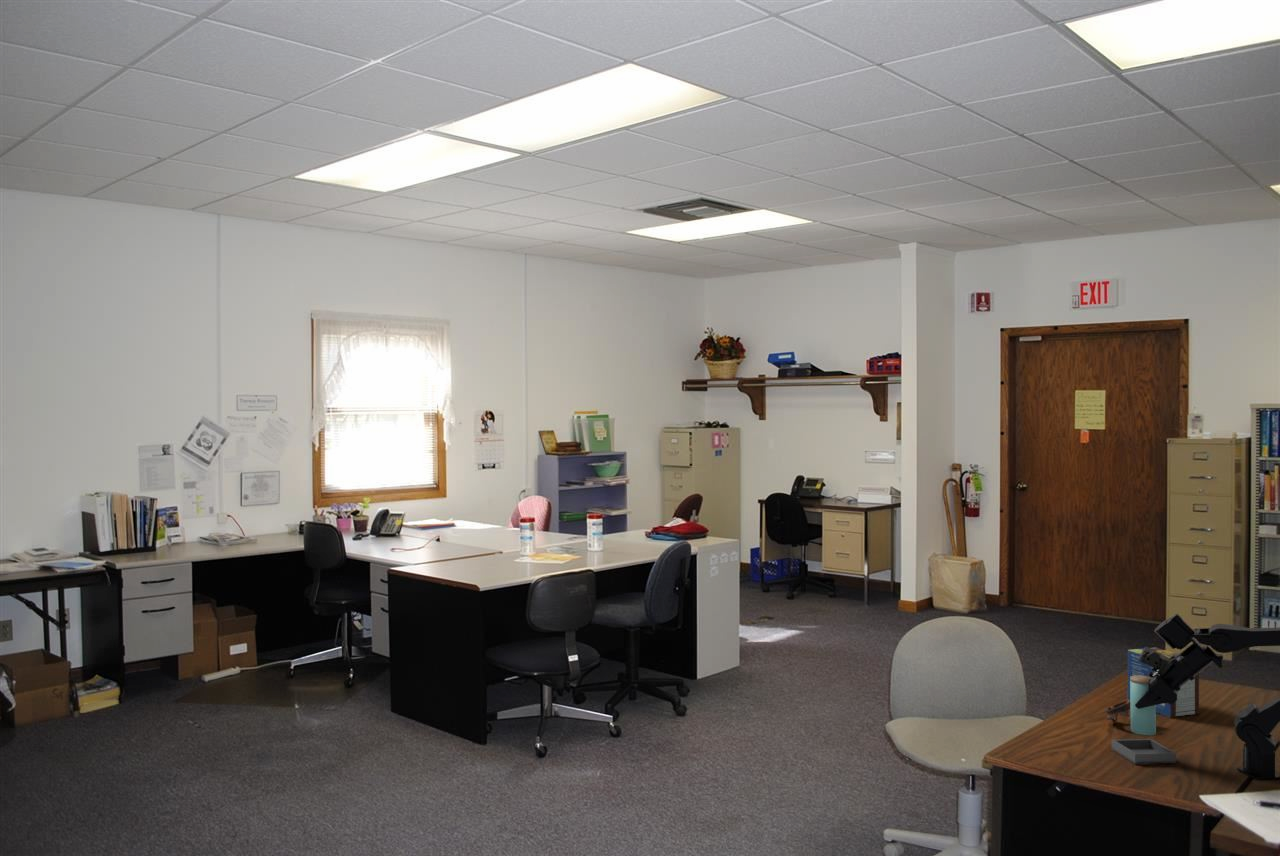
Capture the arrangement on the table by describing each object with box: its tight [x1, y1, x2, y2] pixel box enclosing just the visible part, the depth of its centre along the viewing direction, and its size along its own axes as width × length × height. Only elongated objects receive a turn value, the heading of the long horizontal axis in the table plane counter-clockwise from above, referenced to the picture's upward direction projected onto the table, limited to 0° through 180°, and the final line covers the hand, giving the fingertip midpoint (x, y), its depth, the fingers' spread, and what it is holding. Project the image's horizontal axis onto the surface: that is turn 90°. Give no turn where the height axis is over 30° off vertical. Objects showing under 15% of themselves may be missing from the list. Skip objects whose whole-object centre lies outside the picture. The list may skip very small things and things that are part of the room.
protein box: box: [1127, 646, 1200, 718], centre depth 274 cm, size 10×15×16 cm
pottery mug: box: [1105, 699, 1130, 723], centre depth 258 cm, size 12×10×8 cm
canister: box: [1129, 675, 1157, 736], centre depth 235 cm, size 6×6×13 cm
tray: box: [1110, 738, 1177, 765], centre depth 235 cm, size 10×10×2 cm
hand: (1136, 703), depth 236 cm, fingers closed on canister, 5 cm apart
